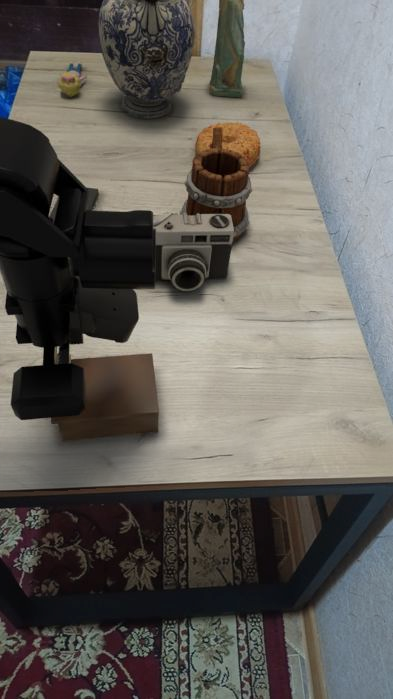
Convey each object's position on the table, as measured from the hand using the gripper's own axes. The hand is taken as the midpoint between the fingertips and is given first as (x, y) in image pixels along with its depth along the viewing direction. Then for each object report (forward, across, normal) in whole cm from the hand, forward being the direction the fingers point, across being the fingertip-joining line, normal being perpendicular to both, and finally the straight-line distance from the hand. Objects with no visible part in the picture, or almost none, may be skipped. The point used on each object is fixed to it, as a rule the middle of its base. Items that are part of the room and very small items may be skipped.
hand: (64, 377), depth 55 cm
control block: (+7, +36, +1) cm, 37 cm away
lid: (+3, 0, -4) cm, 5 cm away
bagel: (+7, +55, -30) cm, 63 cm away
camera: (+7, +22, -17) cm, 29 cm away
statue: (+7, +82, -34) cm, 89 cm away
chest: (+7, 0, -5) cm, 9 cm away
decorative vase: (+7, +75, -16) cm, 77 cm away
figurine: (+7, +86, 0) cm, 86 cm away
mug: (+7, +36, -24) cm, 44 cm away
